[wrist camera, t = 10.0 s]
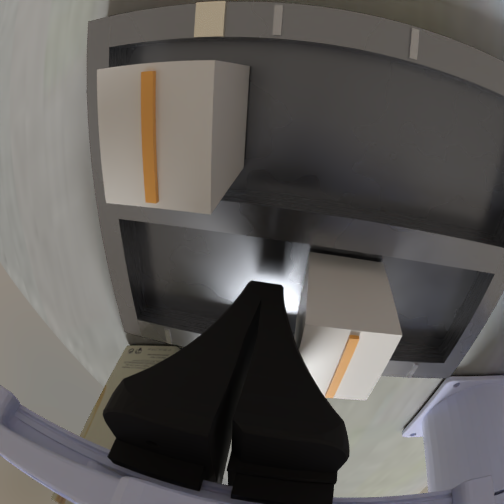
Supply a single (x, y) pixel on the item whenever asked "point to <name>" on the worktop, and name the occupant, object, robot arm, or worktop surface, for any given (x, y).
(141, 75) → the knob
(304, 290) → the rear fader knob
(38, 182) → the worktop surface
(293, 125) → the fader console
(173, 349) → the skincare box
